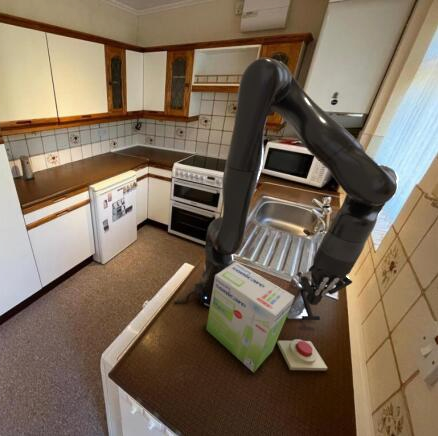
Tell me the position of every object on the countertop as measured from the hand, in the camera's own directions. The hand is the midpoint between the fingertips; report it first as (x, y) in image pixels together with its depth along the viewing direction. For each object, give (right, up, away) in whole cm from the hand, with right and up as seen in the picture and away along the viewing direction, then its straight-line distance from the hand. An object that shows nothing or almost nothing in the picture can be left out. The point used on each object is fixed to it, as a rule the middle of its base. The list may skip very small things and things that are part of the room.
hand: (311, 302), depth 64 cm
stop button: (0, -15, +4) cm, 16 cm away
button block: (0, -19, +6) cm, 19 cm away
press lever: (+8, -5, +15) cm, 18 cm away
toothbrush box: (-17, -16, +10) cm, 25 cm away
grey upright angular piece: (+8, -10, +22) cm, 25 cm away
